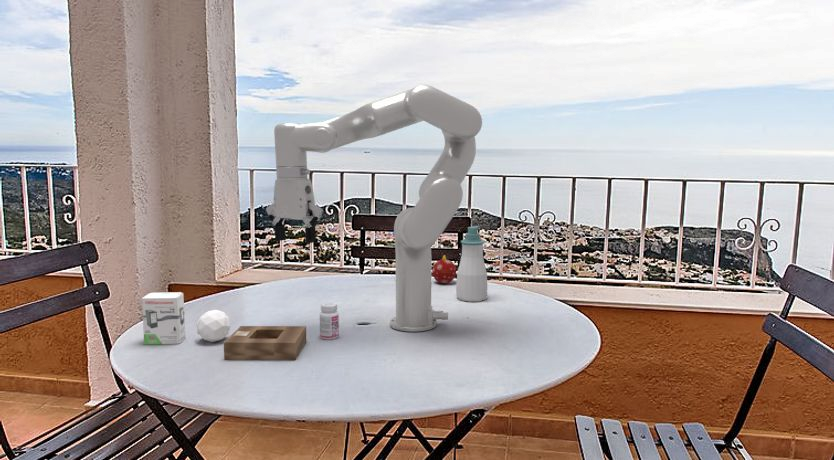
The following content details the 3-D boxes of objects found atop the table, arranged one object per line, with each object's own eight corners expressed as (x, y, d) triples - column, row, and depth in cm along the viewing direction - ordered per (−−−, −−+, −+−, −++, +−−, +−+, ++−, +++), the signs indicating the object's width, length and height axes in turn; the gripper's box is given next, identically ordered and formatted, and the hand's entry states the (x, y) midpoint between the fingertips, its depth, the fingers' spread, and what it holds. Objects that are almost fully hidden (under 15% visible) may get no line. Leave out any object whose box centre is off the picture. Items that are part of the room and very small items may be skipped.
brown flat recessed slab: (306, 342, 138) (306, 325, 138) (295, 360, 126) (294, 342, 126) (241, 341, 138) (240, 325, 138) (224, 359, 126) (223, 342, 126)
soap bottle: (492, 297, 181) (493, 226, 177) (478, 304, 172) (479, 230, 169) (465, 293, 186) (466, 224, 183) (450, 299, 178) (451, 228, 174)
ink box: (143, 345, 136) (140, 297, 134) (151, 338, 141) (148, 292, 139) (179, 344, 136) (177, 297, 135) (186, 337, 141) (184, 291, 140)
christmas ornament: (430, 285, 197) (430, 257, 195) (433, 280, 205) (433, 252, 204) (455, 286, 195) (455, 258, 194) (457, 280, 204) (457, 253, 202)
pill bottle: (335, 340, 139) (334, 307, 138) (317, 339, 140) (316, 306, 139) (341, 334, 144) (341, 302, 143) (324, 333, 145) (323, 301, 144)
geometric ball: (207, 350, 140) (194, 322, 142) (238, 335, 143) (225, 308, 145) (201, 344, 133) (188, 315, 135) (234, 329, 136) (220, 300, 138)
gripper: (329, 173, 139) (332, 241, 142) (275, 172, 147) (278, 237, 150) (310, 174, 133) (313, 246, 135) (255, 174, 141) (259, 241, 143)
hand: (295, 241), depth 143 cm, fingers open, 9 cm apart
